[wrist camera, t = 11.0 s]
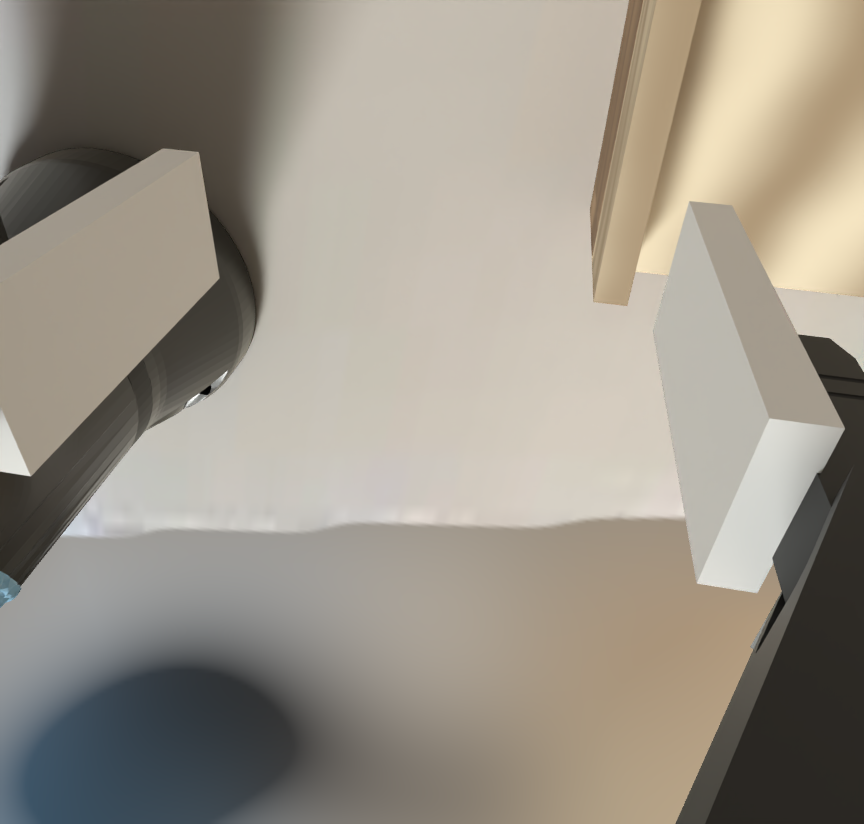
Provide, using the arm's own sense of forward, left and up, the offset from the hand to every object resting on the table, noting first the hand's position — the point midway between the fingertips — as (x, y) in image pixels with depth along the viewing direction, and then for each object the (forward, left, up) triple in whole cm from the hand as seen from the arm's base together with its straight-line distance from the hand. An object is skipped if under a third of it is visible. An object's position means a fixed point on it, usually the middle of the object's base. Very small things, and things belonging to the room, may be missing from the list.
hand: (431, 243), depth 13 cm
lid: (+11, 0, -14) cm, 17 cm away
